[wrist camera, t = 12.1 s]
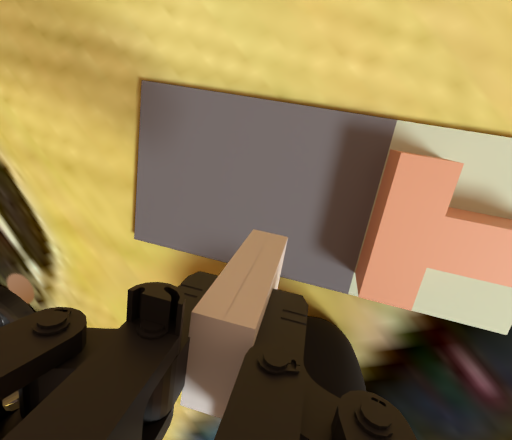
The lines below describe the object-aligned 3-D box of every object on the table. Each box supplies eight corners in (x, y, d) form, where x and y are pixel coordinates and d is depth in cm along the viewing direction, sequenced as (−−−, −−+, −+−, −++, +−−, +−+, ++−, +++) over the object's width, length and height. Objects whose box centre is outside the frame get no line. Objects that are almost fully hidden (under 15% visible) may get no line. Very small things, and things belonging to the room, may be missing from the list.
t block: (355, 273, 26) (358, 297, 22) (390, 149, 23) (401, 152, 19) (496, 307, 24) (526, 340, 20) (555, 177, 21) (603, 187, 17)
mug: (289, 285, 28) (266, 363, 19) (382, 333, 27) (408, 440, 18) (239, 378, 32) (200, 480, 23) (319, 422, 31) (313, 548, 22)
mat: (139, 236, 31) (134, 238, 30) (147, 81, 26) (141, 80, 26) (501, 328, 25) (506, 334, 24) (585, 150, 21) (594, 150, 20)
